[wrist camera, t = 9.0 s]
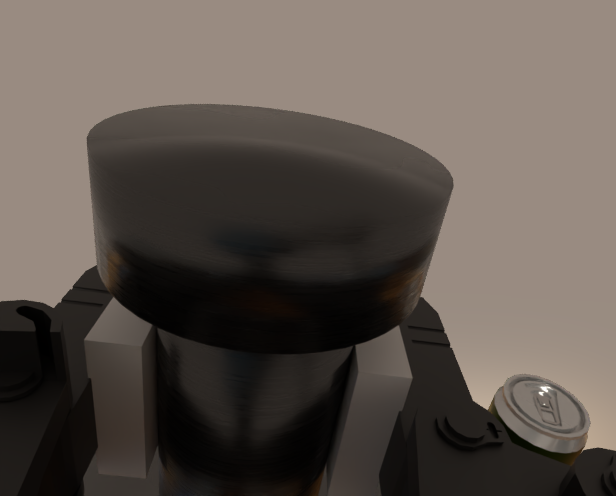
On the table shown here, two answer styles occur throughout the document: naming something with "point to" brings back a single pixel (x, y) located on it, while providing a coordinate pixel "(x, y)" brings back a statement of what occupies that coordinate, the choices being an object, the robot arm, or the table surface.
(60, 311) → the robot arm
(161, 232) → the plunger
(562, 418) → the green drink can
